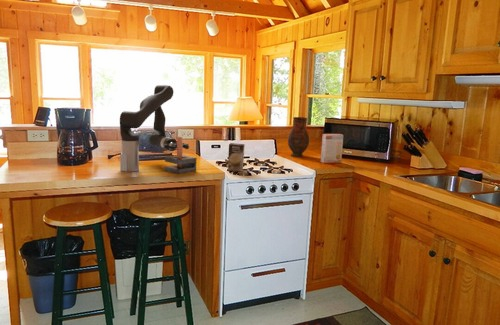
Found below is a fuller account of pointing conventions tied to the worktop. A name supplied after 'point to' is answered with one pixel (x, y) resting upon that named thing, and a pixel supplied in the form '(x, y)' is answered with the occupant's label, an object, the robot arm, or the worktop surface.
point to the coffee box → (235, 157)
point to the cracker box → (331, 148)
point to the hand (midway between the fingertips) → (181, 147)
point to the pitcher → (298, 137)
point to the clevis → (186, 162)
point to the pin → (179, 150)
